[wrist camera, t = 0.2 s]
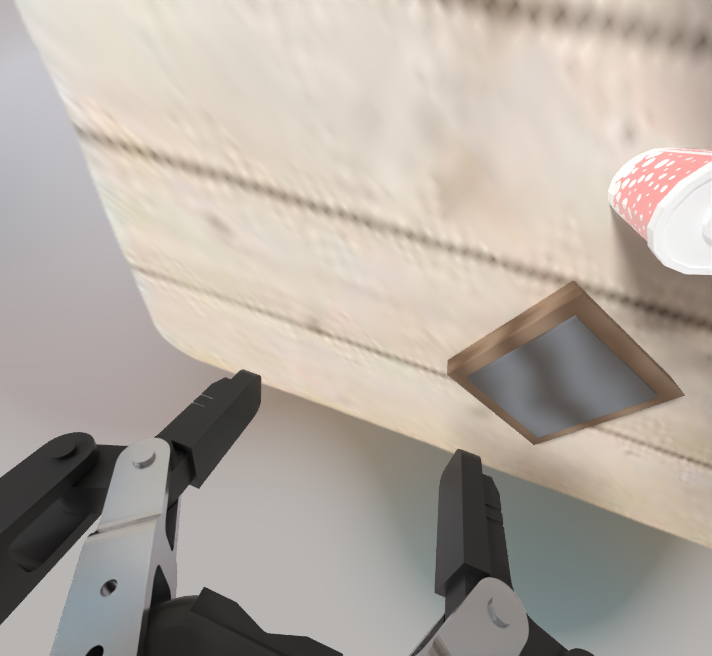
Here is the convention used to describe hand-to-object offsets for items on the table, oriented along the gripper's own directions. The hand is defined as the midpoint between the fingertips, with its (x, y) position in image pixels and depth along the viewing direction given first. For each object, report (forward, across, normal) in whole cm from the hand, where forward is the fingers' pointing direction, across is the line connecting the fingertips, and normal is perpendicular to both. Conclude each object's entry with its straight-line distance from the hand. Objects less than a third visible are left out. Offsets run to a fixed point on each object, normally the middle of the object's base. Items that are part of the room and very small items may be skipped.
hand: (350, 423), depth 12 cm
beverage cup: (+22, -15, -10) cm, 28 cm away
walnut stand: (+23, -18, +8) cm, 30 cm away
